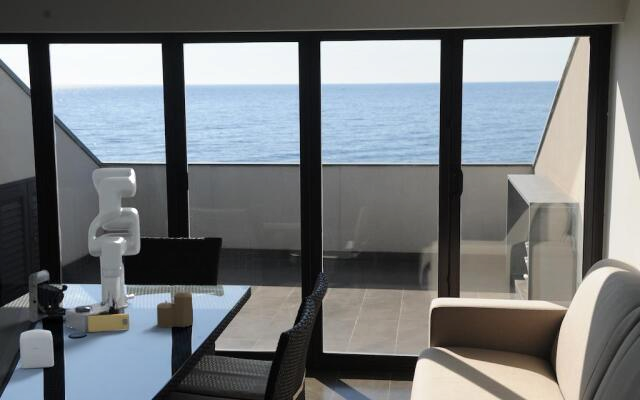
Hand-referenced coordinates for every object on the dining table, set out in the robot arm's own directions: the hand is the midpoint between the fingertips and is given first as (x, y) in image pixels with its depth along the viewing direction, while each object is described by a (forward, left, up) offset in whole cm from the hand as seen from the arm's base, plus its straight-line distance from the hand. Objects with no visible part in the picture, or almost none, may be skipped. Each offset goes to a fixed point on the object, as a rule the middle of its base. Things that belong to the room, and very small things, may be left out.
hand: (113, 318), depth 305 cm
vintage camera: (+8, -29, -4) cm, 31 cm away
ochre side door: (+4, +2, -3) cm, 6 cm away
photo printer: (+44, +20, -4) cm, 49 cm away
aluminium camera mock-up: (+1, -10, -4) cm, 11 cm away
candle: (-20, +14, -4) cm, 24 cm away
